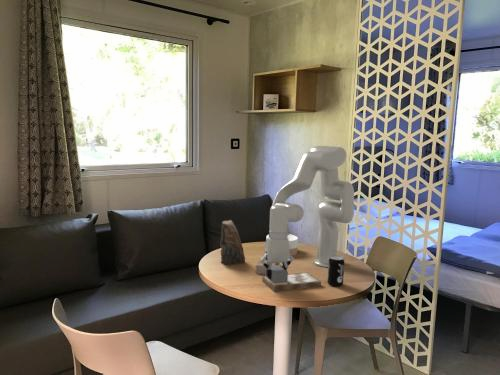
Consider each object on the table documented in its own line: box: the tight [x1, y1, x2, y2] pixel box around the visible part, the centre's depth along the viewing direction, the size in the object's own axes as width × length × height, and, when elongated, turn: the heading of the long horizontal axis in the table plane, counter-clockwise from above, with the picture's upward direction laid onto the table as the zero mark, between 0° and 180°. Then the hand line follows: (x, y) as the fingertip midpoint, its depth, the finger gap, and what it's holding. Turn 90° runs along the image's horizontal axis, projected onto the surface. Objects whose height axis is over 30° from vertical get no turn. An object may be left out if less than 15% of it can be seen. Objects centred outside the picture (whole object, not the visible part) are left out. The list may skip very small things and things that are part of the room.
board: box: [261, 271, 322, 293], centre depth 168 cm, size 22×12×2 cm, turn 111°
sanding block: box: [264, 264, 289, 285], centre depth 165 cm, size 6×9×5 cm, turn 21°
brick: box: [255, 260, 281, 276], centre depth 186 cm, size 17×8×5 cm, turn 163°
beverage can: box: [327, 255, 345, 288], centre depth 168 cm, size 7×7×12 cm
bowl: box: [265, 233, 299, 256], centre depth 215 cm, size 17×17×8 cm
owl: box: [219, 219, 246, 266], centre depth 195 cm, size 13×13×20 cm
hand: (276, 276), depth 165 cm, fingers closed on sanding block, 6 cm apart
